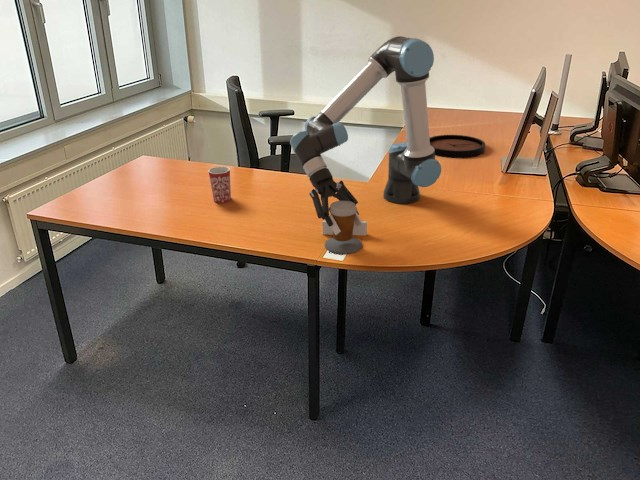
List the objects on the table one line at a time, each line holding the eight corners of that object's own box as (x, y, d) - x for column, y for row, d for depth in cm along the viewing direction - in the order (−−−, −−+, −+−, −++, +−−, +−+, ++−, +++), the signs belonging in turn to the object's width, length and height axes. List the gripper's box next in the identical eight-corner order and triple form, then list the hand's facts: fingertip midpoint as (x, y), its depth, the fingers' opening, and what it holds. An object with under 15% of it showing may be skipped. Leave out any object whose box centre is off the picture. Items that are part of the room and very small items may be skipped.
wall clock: (418, 147, 274) (432, 132, 300) (417, 155, 276) (431, 139, 301) (480, 153, 262) (489, 137, 288) (479, 161, 264) (488, 144, 290)
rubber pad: (362, 237, 189) (362, 236, 189) (361, 254, 178) (361, 253, 177) (326, 236, 190) (326, 235, 190) (323, 253, 179) (323, 252, 179)
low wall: (366, 233, 192) (367, 221, 190) (366, 235, 191) (367, 222, 188) (323, 233, 193) (322, 220, 191) (322, 234, 192) (322, 221, 190)
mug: (233, 202, 222) (230, 172, 216) (212, 205, 220) (208, 174, 214) (232, 192, 233) (229, 162, 227) (211, 194, 231) (207, 164, 225)
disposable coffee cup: (354, 244, 178) (355, 211, 172) (326, 242, 179) (326, 209, 174) (358, 232, 186) (359, 201, 181) (331, 230, 188) (331, 199, 182)
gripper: (337, 171, 192) (366, 224, 188) (288, 185, 179) (319, 243, 175) (347, 160, 186) (378, 215, 182) (297, 174, 173) (329, 234, 169)
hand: (349, 229), depth 178 cm, fingers closed on disposable coffee cup, 9 cm apart
